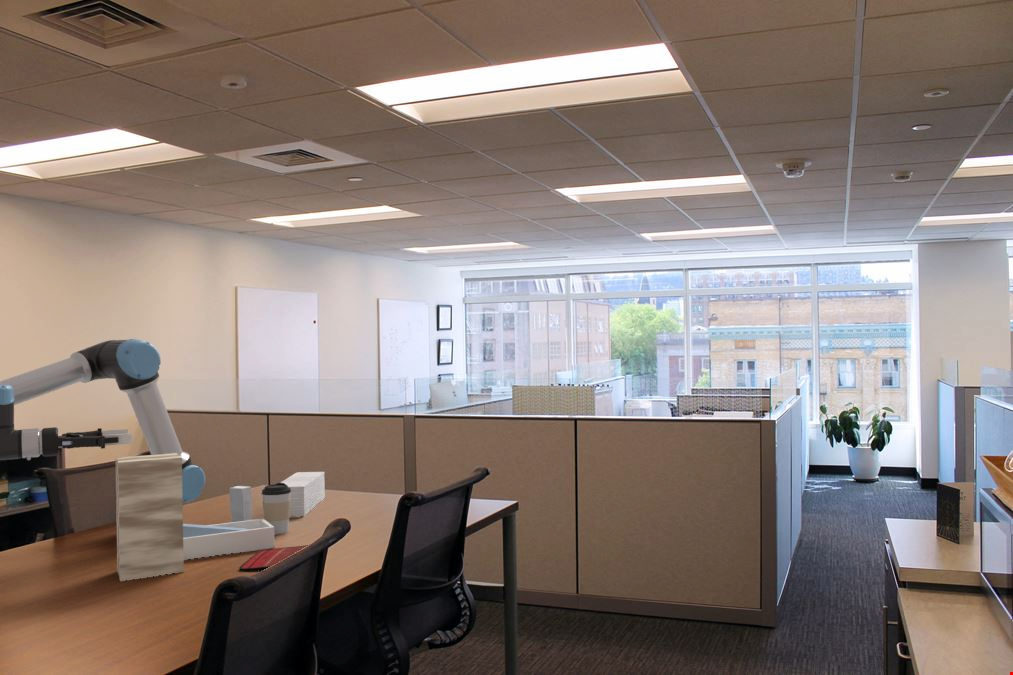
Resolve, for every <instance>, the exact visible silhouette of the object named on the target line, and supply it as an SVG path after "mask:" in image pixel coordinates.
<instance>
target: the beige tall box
mask: <svg viewBox="0 0 1013 675" xmlns="http://www.w3.org/2000/svg"><path fill="white" fill-rule="evenodd" d="M115 500H116V501H115V503H116V504H115V505H116V506H115V508H116V509H115V510H116V511H115V512H116V516H115V517H116V519H115V520H116V566H117V568H116V570H117V575H118V578H119V581H120V582H125V581H126V580H127V581H133V579H134V580H139V579H140V578H141V579H148V578H154V577H159V575H161V576H166V575H165V574H168V575H173V574H172V573H175V574H179V573H180V572H181V573H184V572H185V570H184V569H185V567H184V566H185V565H184V561H185V560H184V557H183V524H184V515H183V514H184V512H183V508H184V506H183V504H184V503H183V498H182V457H181V456H179V455H178V454H177V453H170V454H157V455H151V454H149V455H146V454H145V455H135V456H121V457H115ZM181 573H180V574H181ZM153 576H154V577H153ZM147 577H148V578H147ZM141 579H140V580H141Z"/></svg>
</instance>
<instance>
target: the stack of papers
mask: <svg viewBox="0 0 1013 675" xmlns="http://www.w3.org/2000/svg"><path fill="white" fill-rule="evenodd" d="M325 482H326V481H325V471H299V472H295V473H294V474H292V475H290V476H289V477H287V478H286V479H284V480H282V481H280V482H279V483H284V484H286V485H287V486H288V487H289V488H291V492H290V499H291V502H290V516H305V515H306V514H307V513H308V512H309V511H310V510H312V509H313V508H314V507H315V506H316V505H317V504H318V503H319V502H320V501H322V500H323V499H324V498H325V499H326V493H325V492H326V491H325V490H326V488H325V486H326V485H325ZM323 501H324V500H323ZM323 501H322V502H323ZM315 508H316V507H315ZM315 508H314V509H315ZM314 509H313V510H314ZM313 510H312V511H313ZM306 516H307V515H306ZM306 516H305V517H306Z"/></svg>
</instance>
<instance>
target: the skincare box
mask: <svg viewBox="0 0 1013 675" xmlns="http://www.w3.org/2000/svg"><path fill="white" fill-rule="evenodd" d="M252 499H253V498H252V486H245V485H237V486H232V487H229V506H230V507H229V508H230V523H231V522H239V521H247V520H254V518H253V502H252Z"/></svg>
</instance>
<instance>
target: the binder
mask: <svg viewBox="0 0 1013 675" xmlns="http://www.w3.org/2000/svg"><path fill="white" fill-rule="evenodd" d="M308 545H309V544H305V545H298V546H289V547H288V546H287V547H277V548H269V549H262V550H259V551H258V552H257V553H255V554H253V555H252V556H251V557H250V558H249V559H247V560H245V562H243V563H242V564H241V565H240V566H239V567H238V568H239V572H262V571H261V570H264V569H266V568H268V567H270V566H272V565H274V564H276V563H278V562H279V561H281V560H283V559H285V558H287V557H288V556H290V555H292V554H294V553H295V552H297V551H299V550H301V549H302V548H304V547H306V546H308ZM258 570H259V571H258Z"/></svg>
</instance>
